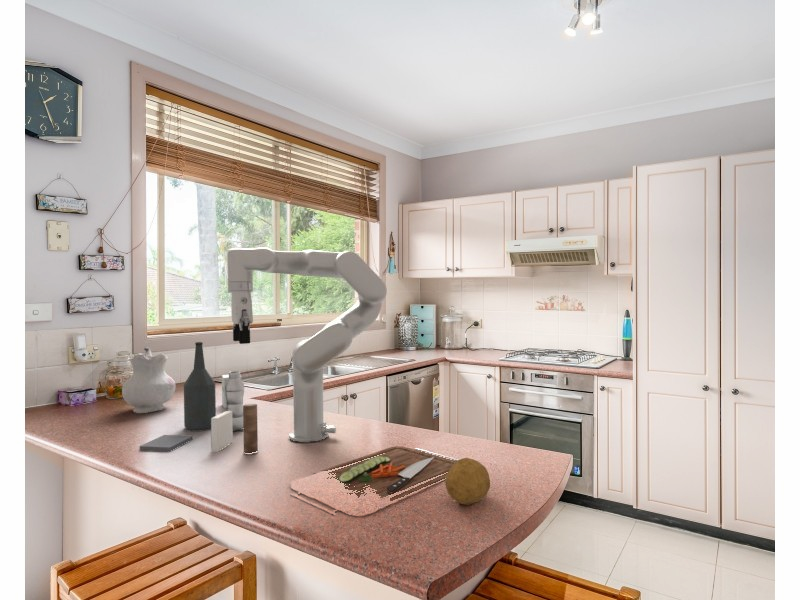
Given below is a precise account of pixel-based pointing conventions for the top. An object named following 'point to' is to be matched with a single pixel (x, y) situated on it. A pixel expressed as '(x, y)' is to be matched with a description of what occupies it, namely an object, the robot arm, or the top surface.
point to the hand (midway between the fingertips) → (241, 342)
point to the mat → (166, 443)
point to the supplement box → (224, 381)
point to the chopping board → (393, 471)
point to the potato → (467, 481)
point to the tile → (221, 430)
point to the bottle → (199, 395)
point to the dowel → (250, 428)
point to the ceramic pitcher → (148, 383)
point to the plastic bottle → (235, 399)
